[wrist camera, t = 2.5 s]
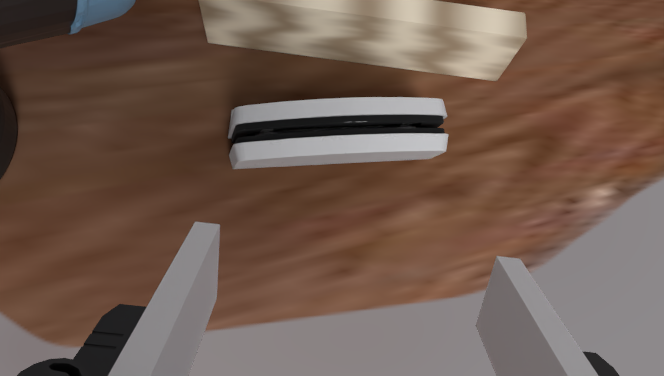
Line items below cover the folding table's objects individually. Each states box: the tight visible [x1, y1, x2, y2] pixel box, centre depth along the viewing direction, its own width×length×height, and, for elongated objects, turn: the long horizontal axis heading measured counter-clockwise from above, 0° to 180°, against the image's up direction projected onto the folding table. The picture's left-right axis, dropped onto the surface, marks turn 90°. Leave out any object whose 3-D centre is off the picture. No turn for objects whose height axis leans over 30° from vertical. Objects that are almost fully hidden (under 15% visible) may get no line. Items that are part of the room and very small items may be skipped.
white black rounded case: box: [228, 97, 448, 169], centre depth 37 cm, size 17×5×10 cm, turn 96°
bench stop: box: [199, 0, 527, 81], centre depth 42 cm, size 26×2×6 cm, turn 85°
